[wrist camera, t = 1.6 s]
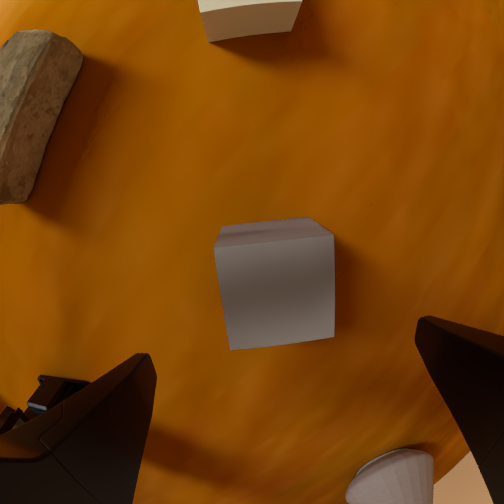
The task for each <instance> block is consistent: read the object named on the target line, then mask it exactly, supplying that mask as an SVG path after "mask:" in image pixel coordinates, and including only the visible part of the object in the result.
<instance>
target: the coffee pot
mask: <svg viewBox="0 0 504 504" xmlns="http://www.w3.org/2000/svg"><path fill="white" fill-rule="evenodd" d="M433 486H434V458H433V457H432V456H431V455H430V454H429V453H427V452H425V451H422V450H414V449H412V450H410V449H407V448H404V449H398V450H394V451H391V452H388V453H386V454H383V455H381V456H379V457H377V458H375V459H373V460H372V461H370V462H368V463H367V464H366V465H364V466H363V467H362V468H361V469H360V470H359V471H358V472H357V474H356V476H355V477H354V478H353V480H352V481H351V483H350V484H349V486H348V488H347V491H346V501H347V502H348V503H349V504H433Z"/></svg>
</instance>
